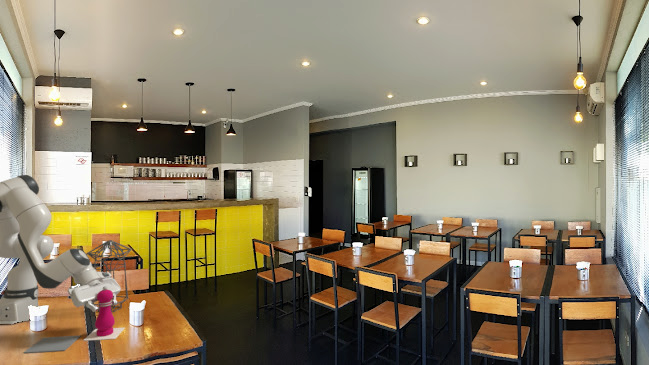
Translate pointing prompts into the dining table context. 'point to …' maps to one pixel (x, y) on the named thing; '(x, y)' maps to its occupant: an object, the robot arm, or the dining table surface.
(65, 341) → the slate mat
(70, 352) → the dining table surface
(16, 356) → the dining table surface
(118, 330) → the white flat square plate
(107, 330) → the pepper mill
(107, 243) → the geometric lantern
